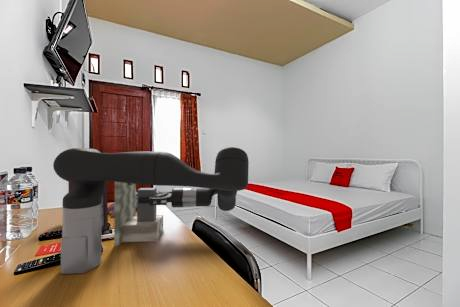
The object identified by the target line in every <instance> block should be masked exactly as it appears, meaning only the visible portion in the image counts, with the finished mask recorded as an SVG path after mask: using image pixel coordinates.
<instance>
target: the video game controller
mask: <svg viewBox="0 0 460 307" xmlns="http://www.w3.org/2000/svg"><path fill="white" fill-rule="evenodd" d="M110 213H111V214H110ZM108 214H110V217H111V218H115V202H112V203H111V204H110V205H109V206H108Z"/></svg>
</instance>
